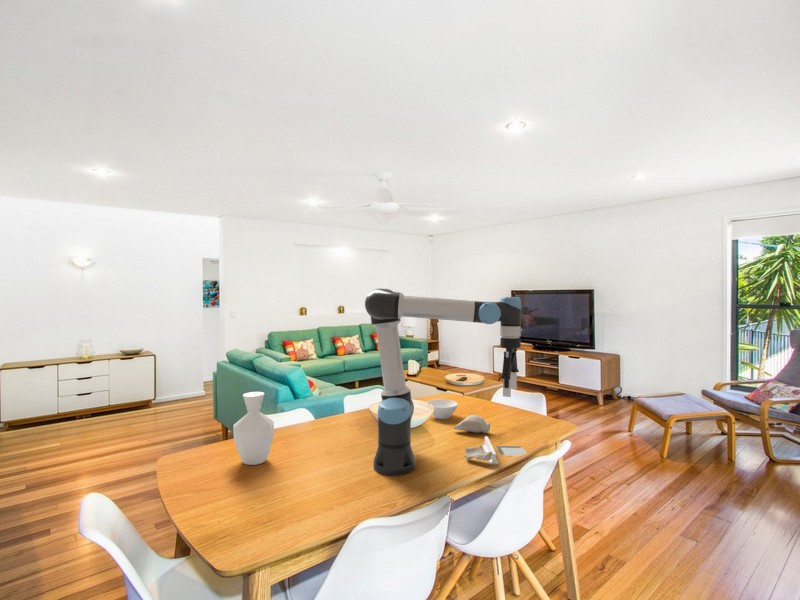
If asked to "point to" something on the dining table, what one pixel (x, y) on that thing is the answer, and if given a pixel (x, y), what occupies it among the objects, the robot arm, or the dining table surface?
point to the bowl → (443, 408)
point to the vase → (253, 431)
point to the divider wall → (490, 450)
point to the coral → (478, 453)
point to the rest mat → (511, 450)
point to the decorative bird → (473, 424)
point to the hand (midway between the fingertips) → (509, 392)
